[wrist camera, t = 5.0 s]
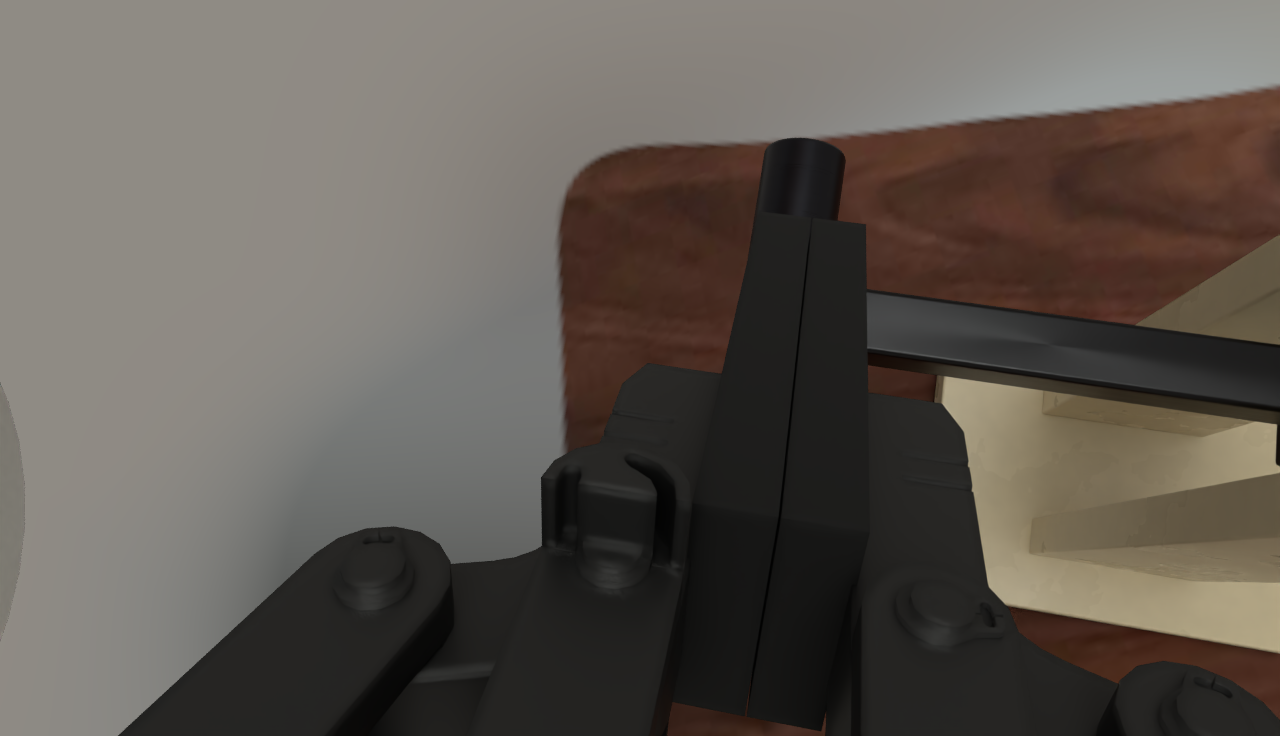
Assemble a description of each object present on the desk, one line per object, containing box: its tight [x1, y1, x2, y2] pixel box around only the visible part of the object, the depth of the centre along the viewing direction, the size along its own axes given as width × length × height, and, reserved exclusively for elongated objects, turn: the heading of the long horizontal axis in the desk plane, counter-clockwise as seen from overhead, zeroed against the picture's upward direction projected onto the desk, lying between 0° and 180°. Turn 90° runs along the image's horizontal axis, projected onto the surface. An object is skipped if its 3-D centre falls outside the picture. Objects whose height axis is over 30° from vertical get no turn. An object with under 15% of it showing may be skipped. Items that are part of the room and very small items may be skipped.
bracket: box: [934, 235, 1280, 654], centre depth 20 cm, size 10×8×15 cm
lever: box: [748, 138, 1280, 466], centre depth 15 cm, size 12×6×2 cm, turn 80°
